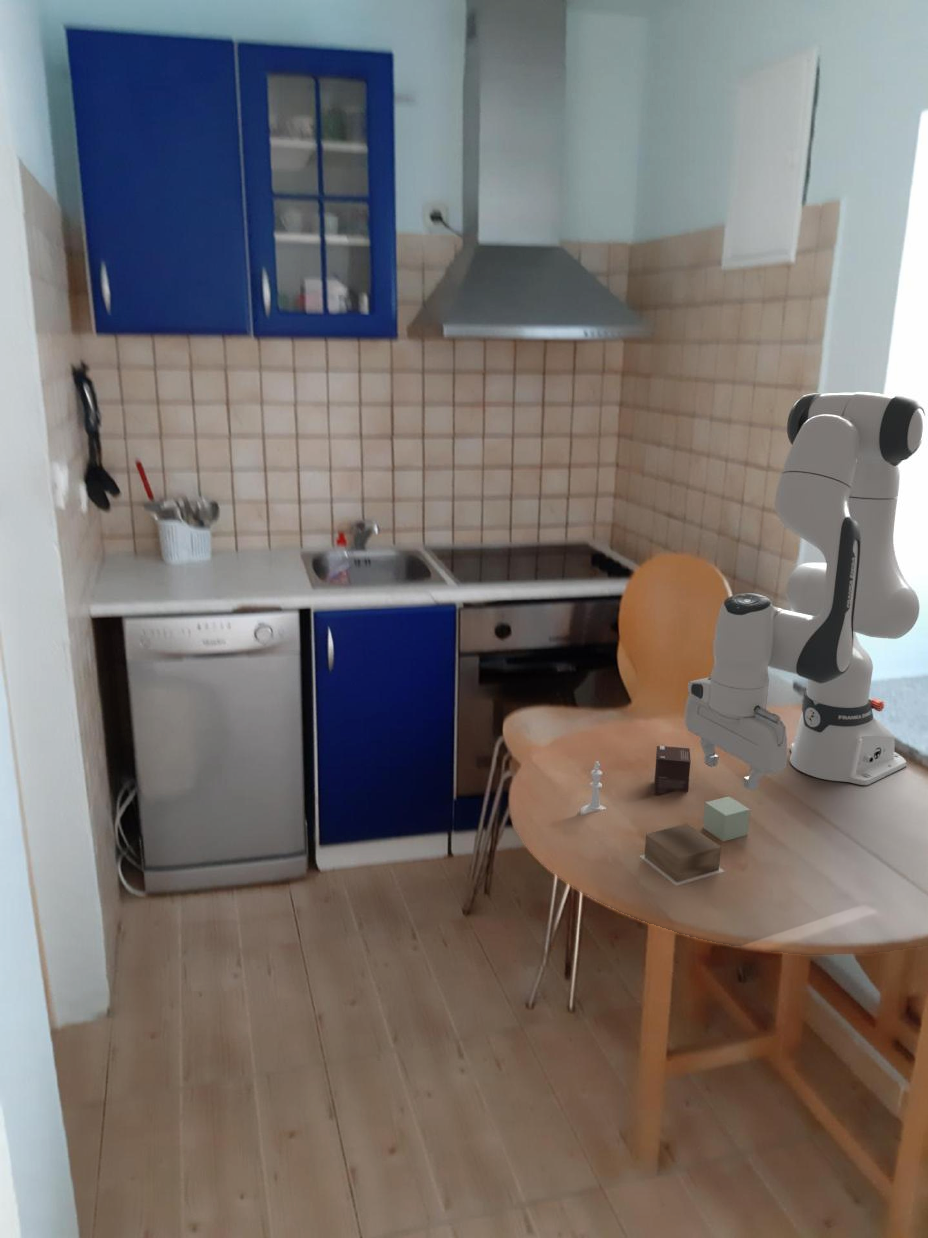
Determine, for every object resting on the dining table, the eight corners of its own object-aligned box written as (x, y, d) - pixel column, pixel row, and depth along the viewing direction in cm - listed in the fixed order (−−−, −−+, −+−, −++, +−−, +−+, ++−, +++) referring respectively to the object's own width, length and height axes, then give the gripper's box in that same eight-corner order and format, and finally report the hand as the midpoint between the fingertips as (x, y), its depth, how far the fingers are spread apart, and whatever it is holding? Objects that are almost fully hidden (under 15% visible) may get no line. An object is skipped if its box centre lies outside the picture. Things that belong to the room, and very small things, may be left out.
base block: (685, 845, 152) (687, 823, 151) (718, 870, 145) (721, 847, 144) (644, 857, 148) (646, 834, 147) (676, 882, 142) (678, 858, 140)
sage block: (725, 828, 160) (729, 796, 158) (746, 842, 156) (749, 809, 154) (702, 834, 158) (705, 802, 156) (722, 849, 154) (725, 815, 152)
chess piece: (613, 812, 165) (616, 760, 162) (601, 824, 161) (604, 770, 158) (587, 805, 168) (590, 753, 165) (575, 816, 164) (577, 763, 161)
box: (687, 799, 170) (691, 761, 168) (653, 795, 171) (656, 758, 169) (687, 784, 176) (690, 747, 174) (654, 781, 177) (656, 744, 175)
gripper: (801, 716, 142) (792, 799, 146) (711, 674, 160) (704, 749, 164) (769, 723, 139) (760, 808, 143) (681, 679, 157) (675, 756, 161)
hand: (730, 776), depth 154 cm, fingers open, 8 cm apart
